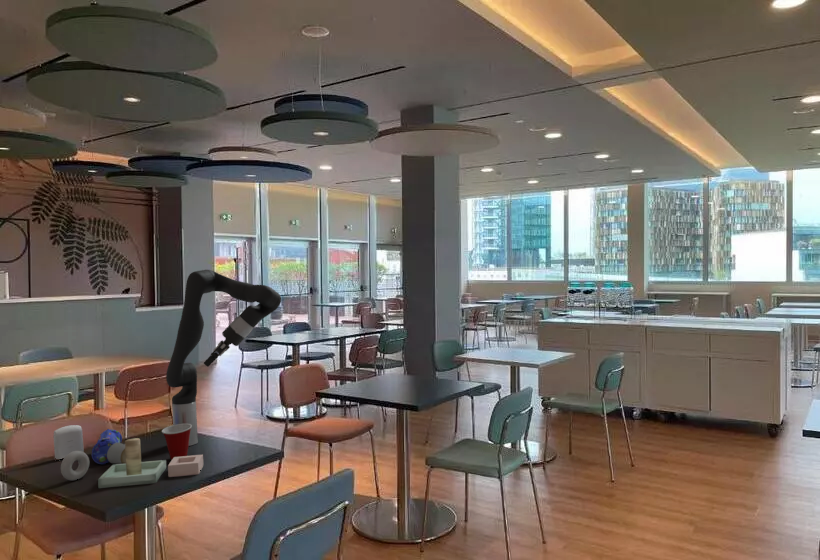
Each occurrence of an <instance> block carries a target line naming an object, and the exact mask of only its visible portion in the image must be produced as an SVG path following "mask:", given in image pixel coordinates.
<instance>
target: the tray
mask: <svg viewBox="0 0 820 560" xmlns="http://www.w3.org/2000/svg"><path fill="white" fill-rule="evenodd" d="M141 468H142V474H138V475H128V476H127V474H126V463H125V464H112V465H111V466H110V467H109V468H108V469H106V471H105V472H104V473H103V474H102V475H101V476H100V477H99V478H98V479H97V483H98V484H97V487H98V489H106V488H117V487H127V486H137V485H149V484H156V483H157V482H158V481H159V479H160V478H161V476H162V475H163V473H164V472H165V471H166V470H167V460H166V459H163V460H162V459H160V460H149V461H141Z"/></svg>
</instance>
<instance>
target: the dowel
mask: <svg viewBox="0 0 820 560" xmlns="http://www.w3.org/2000/svg"><path fill="white" fill-rule="evenodd" d="M124 444H125V454H126V474H127V476H128V475H138V474H142V468H141V462H142V451H141V447H142V446H141V439H140V438H138V437H137V438H135V437H134V438H129V439H126V440H124Z"/></svg>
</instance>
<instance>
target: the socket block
mask: <svg viewBox="0 0 820 560" xmlns="http://www.w3.org/2000/svg"><path fill="white" fill-rule="evenodd" d="M203 467H204V454H193V455H187V456H181V457H174V458H173V459H172V460H171V461H170V462H169V464H168V465H167V472H168V473H167V474H168V475H167V477H168V478H173V477H174V478H175V477H184V476H194V475H195V476H197V475H200V474H201V471H202V469H203ZM200 470H201V471H200Z"/></svg>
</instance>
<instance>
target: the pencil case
mask: <svg viewBox="0 0 820 560" xmlns="http://www.w3.org/2000/svg"><path fill="white" fill-rule="evenodd" d="M122 441H123V436H122V433H120V431H118V430H116V429H112V428H111V429H109V428H107V429H105V430H104V431H103V432H101V433H100V434H99V436H98V439H97V442H96V443H95V444H94V445H93V447H92V449H91V458H92V460H93V461H94V463H96V464H99V465H106V463H107V464H108V463H110V462H109V461H108V458H107V452H108V450H109V448H110V446H111V445H113V444H114V443H122Z"/></svg>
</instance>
